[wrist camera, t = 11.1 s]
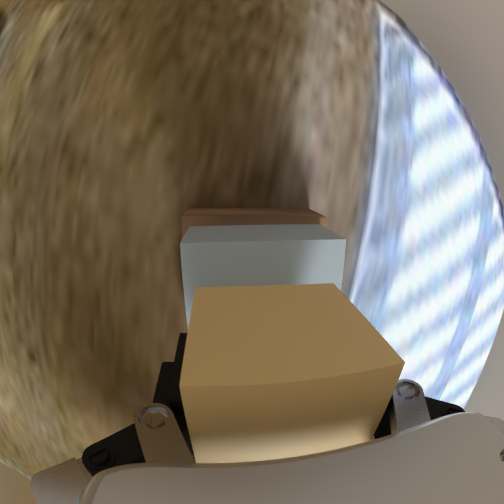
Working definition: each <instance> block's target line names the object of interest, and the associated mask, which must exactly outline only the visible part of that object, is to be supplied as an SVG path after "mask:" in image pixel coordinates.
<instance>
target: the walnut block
mask: <svg viewBox="0 0 504 504" xmlns="http://www.w3.org/2000/svg"><path fill="white" fill-rule="evenodd" d="M326 223H327V217H325V216H323V215H321V214H319V213H317V212H315V211H312V210H310V209H288V208H188V209H187V210H186V211H185V212H184V214H183V215H182V216H181V225H182V239H183V237H184V235H185V233H186V231H187V230H188V228H189V227H192V226H225V225H275V224H321V225H323V226H324V227H326Z"/></svg>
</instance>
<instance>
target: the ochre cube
mask: <svg viewBox="0 0 504 504" xmlns="http://www.w3.org/2000/svg"><path fill="white" fill-rule="evenodd" d="M404 363H405V362H404V361H403V360H402V358H401V357H400V356H399V355H398V354H397V353H396V352H395V350H394V349H393V348H392V347H391V346H390V345H389V344H388V342H387V341H386V340H385V339H384V338H383V337H382V336H381V335H380V333H379V332H378V331H377V330H376V329H375V328H374V327H373V326H372V325H371V323H370V322H369V321H368V320H367V319H366V318H365V317H364V316H363V315H362V314H361V312H360V311H359V310H358V309H357V308H356V307H355V306H354V305H353V304H352V303H351V302H350V300H349V299H348V298H347V297H346V296H345V295H344V294H343V293H342V292H341V291H340V290H339V289H338V288H337V286H336V285H335V284H334V283H324V284H300V285H270V286H223V287H196V289H195V294H194V299H193V305H192V310H191V316H190V322H189V327H188V333H187V339H186V345H185V351H184V358H183V364H182V371H181V377H180V384H179V387H180V392H181V398H182V403H183V408H184V413H185V417H186V422H187V427H188V431H189V435H190V440H191V444H192V448H193V452H194V456H195V460H196V463H236V462H253V461H264V460H274V459H282V458H290V457H297V456H303V455H309V454H315V453H320V452H325V451H330V450H335V449H340V448H344V447H348V446H352V445H356V444H360V443H364V442H367V441H371V439H372V437H373V435H374V433H375V431H376V429H377V427H378V425H379V423H380V421H381V419H382V416H383V414H384V412H385V410H386V408H387V406H388V403H389V401H390V399H391V396H392V394H393V392H394V389H395V387H396V384H397V382H398V379H399V377H400V374H401V371H402V369H403V366H404Z"/></svg>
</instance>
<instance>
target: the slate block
mask: <svg viewBox="0 0 504 504" xmlns="http://www.w3.org/2000/svg"><path fill="white" fill-rule="evenodd" d="M345 248H346V239H345V238H343V237H342V236H340V235H338V234H336V233H335V232H333V231H331V230H330V229H328V228H326V227H324V226H323V225H321V224H275V225H225V226H192V227H189V228H188V230H187V231H186V233H185V235H184V237H183V239H182V240H181V242H180V252H181V266H182V278H183V289H184V299H185V309H186V318H187V326H188V327H189V322H190V316H191V310H192V305H193V299H194V294H195V289H196V287H223V286H270V285H300V284H324V283H334V284H335V285H336V286H337V288H338V289H339V290H340V291H341V287H342V278H343V269H344V259H345Z"/></svg>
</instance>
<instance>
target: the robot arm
mask: <svg viewBox="0 0 504 504" xmlns="http://www.w3.org/2000/svg"><path fill="white" fill-rule="evenodd" d="M186 339H187V333H180V336H179V341H178V346H177V351H176V356H175V361H174V362H163V363H162V365H161V369H160V373H159V378H158V382H157V386H156V390H155V395H154V399H153V403H148V404H145V405H143V406H141V407H139V408H138V409H137V410H136V411H135V414H134V424H132V425H130V426H128V427H126V428H124V429H122V430H120V431H118V432H117V433H115V434H113V435H111V436H109V437H107V438H105V439H103V440H101V441H98V442H96V443H94V444H92V445H90V446H89V447H87V448H86V449H85V451H84V452H83V455H82V458H79V459H77V460H76V459H75V458H72V459H70V460H67V461H65V462H62V463H60V464H58V465H55V466H53V467H50V468H47V469H45V470H42V471H40V472H37V473H36V474H34V475H33V476H32V478H31V481H30V486H31V490H32V492H33V494H34V496H35V498H36V500H37V502H38V504H504V421H503V420H501V419H499V418H495V417H489V416H484V415H483V414H480V413H477V412H465V411H464V410H463V408H461V407H460V406H457V405H455V404H451V403H447V402H443V401H439V400H436V399H432V398H428V397H425V396H424V392H423V389H422V387H421V386H420V385H419V384H418V383H416V382H415V381H412V380H408V379H401V380H398V382H397V384H396V387H395V389H394V392H393V394H392V396H391V399H390V401H389V403H388V406H387V408H386V410H385V412H384V414H383V416H382V419H381V421H380V423H379V425H378V427H377V429H376V431H375V433H374V435H373V437H372V439H371V441H367V442H364V443H360V444H356V445H352V446H348V447H344V448H340V449H335V450H330V451H325V452H320V453H315V454H309V455H303V456H297V457H290V458H282V459H274V460H264V461H253V462H236V463H195V461H194V459H193V457H192V455H193V454H194V452H193V448H192V444H191V440H190V435H189V431H188V427H187V422H186V417H185V413H184V408H183V403H182V398H181V392H180V387H179V384H180V377H181V371H182V364H183V358H184V351H185V345H186Z"/></svg>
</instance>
